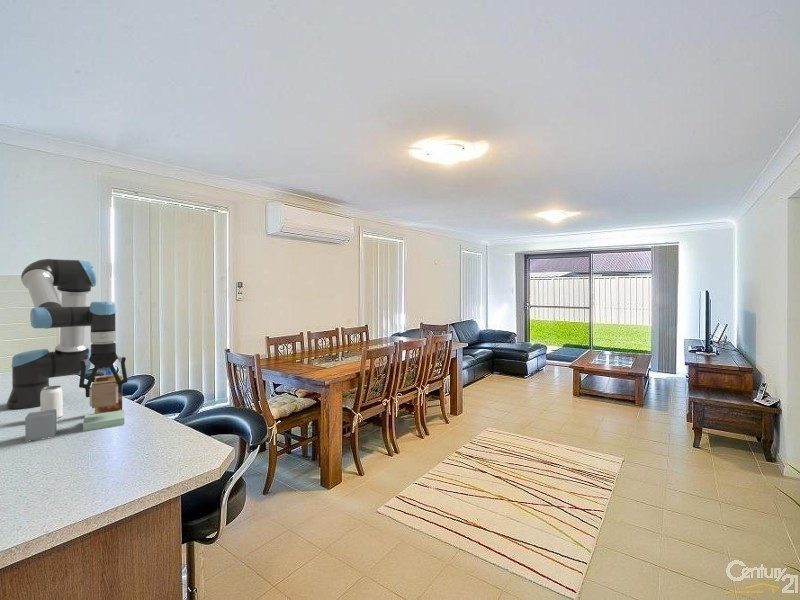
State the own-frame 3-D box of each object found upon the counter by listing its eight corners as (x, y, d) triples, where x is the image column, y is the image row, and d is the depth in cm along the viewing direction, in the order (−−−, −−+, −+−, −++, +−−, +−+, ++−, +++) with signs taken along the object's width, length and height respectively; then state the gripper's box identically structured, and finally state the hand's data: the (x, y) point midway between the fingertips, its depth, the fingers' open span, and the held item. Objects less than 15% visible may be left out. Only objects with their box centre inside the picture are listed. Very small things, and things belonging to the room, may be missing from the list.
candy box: (95, 416, 154) (95, 377, 154) (94, 413, 157) (93, 376, 157) (122, 411, 160) (122, 374, 160) (121, 409, 164) (120, 372, 163)
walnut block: (93, 403, 146) (92, 382, 146) (116, 400, 150) (115, 380, 150) (91, 408, 141) (91, 386, 140) (115, 404, 145) (115, 383, 145)
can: (42, 421, 147) (42, 390, 147) (38, 418, 151) (38, 387, 151) (64, 417, 153) (64, 387, 152) (60, 414, 156) (59, 384, 156)
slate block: (29, 435, 133) (29, 412, 133) (56, 431, 137) (56, 409, 137) (25, 442, 128) (25, 418, 127) (53, 437, 132) (53, 414, 132)
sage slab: (85, 423, 147) (85, 415, 147) (123, 417, 154) (123, 409, 154) (82, 432, 137) (82, 424, 137) (124, 425, 144) (124, 417, 144)
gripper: (67, 346, 136) (68, 411, 137) (135, 341, 148) (136, 401, 148) (69, 343, 142) (70, 406, 143) (135, 339, 154) (136, 397, 154)
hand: (104, 403), depth 145 cm, fingers closed on walnut block, 7 cm apart
